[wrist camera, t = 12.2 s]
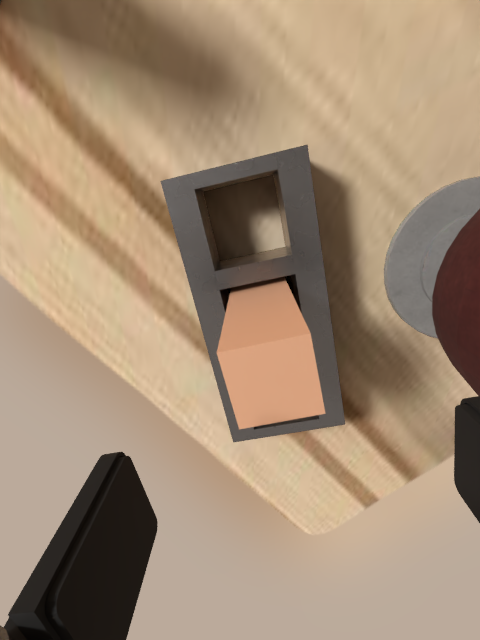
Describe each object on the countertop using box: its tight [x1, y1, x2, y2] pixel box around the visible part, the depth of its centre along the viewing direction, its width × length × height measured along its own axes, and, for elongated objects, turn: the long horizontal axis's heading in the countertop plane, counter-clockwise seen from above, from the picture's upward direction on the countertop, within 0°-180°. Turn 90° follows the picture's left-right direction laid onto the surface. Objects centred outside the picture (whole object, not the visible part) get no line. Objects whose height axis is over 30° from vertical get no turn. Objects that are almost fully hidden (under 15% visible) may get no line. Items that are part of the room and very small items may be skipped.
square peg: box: [217, 277, 325, 429], centre depth 20 cm, size 4×4×13 cm
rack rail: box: [161, 145, 345, 442], centre depth 25 cm, size 9×20×4 cm, turn 13°
